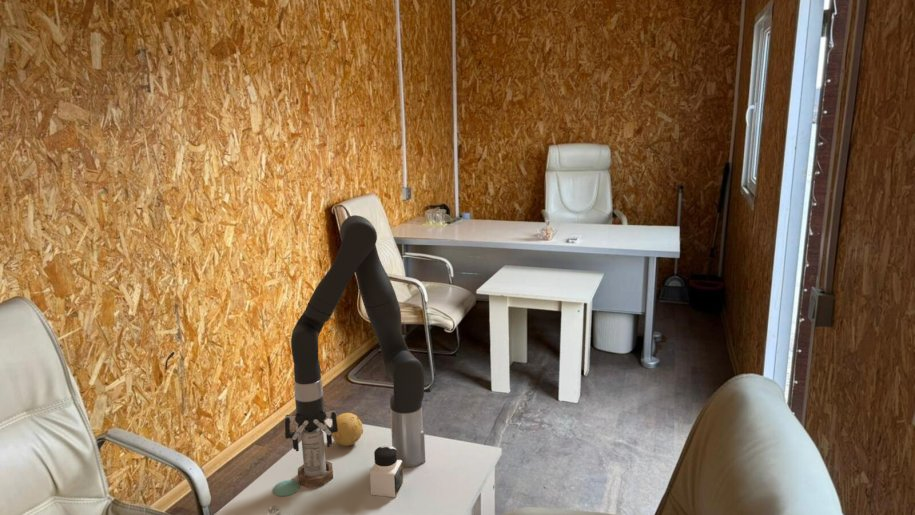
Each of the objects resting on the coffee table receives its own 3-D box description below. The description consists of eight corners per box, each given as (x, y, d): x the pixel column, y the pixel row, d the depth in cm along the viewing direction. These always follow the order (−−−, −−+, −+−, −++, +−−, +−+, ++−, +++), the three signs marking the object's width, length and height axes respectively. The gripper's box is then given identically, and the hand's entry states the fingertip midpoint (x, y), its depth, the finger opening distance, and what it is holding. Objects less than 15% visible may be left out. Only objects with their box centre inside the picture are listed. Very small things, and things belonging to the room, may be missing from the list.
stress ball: (331, 443, 194) (321, 437, 185) (342, 413, 198) (333, 405, 189) (360, 451, 192) (351, 446, 183) (370, 421, 196) (362, 414, 187)
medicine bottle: (395, 498, 164) (394, 457, 161) (370, 495, 165) (368, 455, 163) (403, 482, 171) (401, 443, 168) (379, 480, 172) (377, 441, 169)
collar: (332, 465, 180) (331, 458, 179) (333, 484, 171) (333, 476, 170) (298, 470, 178) (297, 462, 177) (298, 489, 168) (297, 481, 168)
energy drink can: (330, 473, 176) (326, 425, 173) (319, 485, 170) (315, 436, 167) (312, 469, 178) (308, 422, 174) (300, 481, 172) (296, 432, 169)
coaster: (299, 479, 173) (299, 478, 173) (299, 494, 166) (299, 492, 166) (273, 483, 172) (273, 482, 171) (272, 498, 165) (272, 496, 165)
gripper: (334, 385, 173) (337, 437, 177) (282, 391, 170) (287, 444, 174) (336, 397, 166) (339, 451, 170) (281, 403, 163) (286, 458, 167)
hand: (312, 447), depth 172 cm, fingers open, 8 cm apart
